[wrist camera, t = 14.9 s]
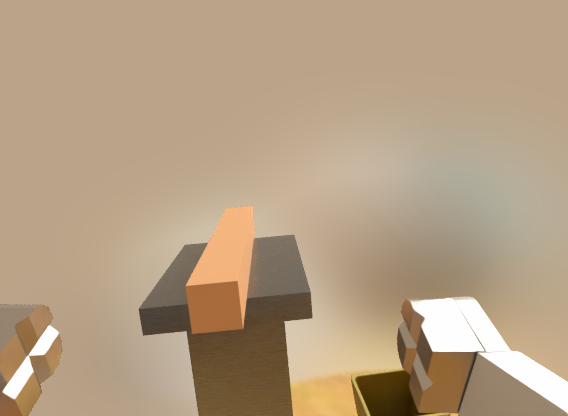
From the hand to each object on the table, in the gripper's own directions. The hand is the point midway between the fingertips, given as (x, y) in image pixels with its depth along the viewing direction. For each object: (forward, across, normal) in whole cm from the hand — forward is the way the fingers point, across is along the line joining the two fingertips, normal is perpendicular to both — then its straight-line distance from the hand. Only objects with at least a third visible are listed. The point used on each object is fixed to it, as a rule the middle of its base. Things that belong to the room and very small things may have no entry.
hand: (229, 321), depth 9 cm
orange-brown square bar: (+22, +3, +14) cm, 26 cm away
